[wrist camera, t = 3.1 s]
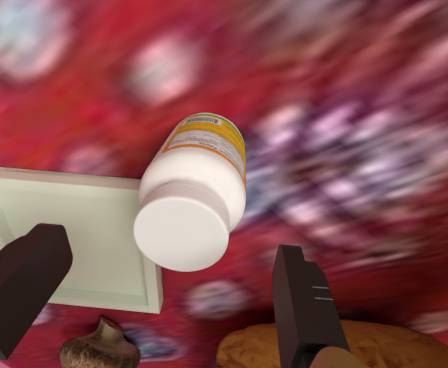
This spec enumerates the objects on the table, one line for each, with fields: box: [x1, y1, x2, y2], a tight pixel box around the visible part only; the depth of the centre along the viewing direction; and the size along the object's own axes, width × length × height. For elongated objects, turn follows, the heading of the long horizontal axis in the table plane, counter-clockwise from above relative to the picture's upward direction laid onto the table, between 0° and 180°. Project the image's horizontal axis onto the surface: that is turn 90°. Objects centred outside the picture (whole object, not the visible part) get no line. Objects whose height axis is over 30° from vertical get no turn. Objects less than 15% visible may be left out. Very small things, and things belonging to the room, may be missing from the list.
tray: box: [0, 167, 164, 314], centre depth 24 cm, size 14×14×2 cm
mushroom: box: [59, 317, 141, 368], centre depth 29 cm, size 8×8×6 cm
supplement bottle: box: [133, 113, 246, 272], centre depth 15 cm, size 5×5×10 cm
